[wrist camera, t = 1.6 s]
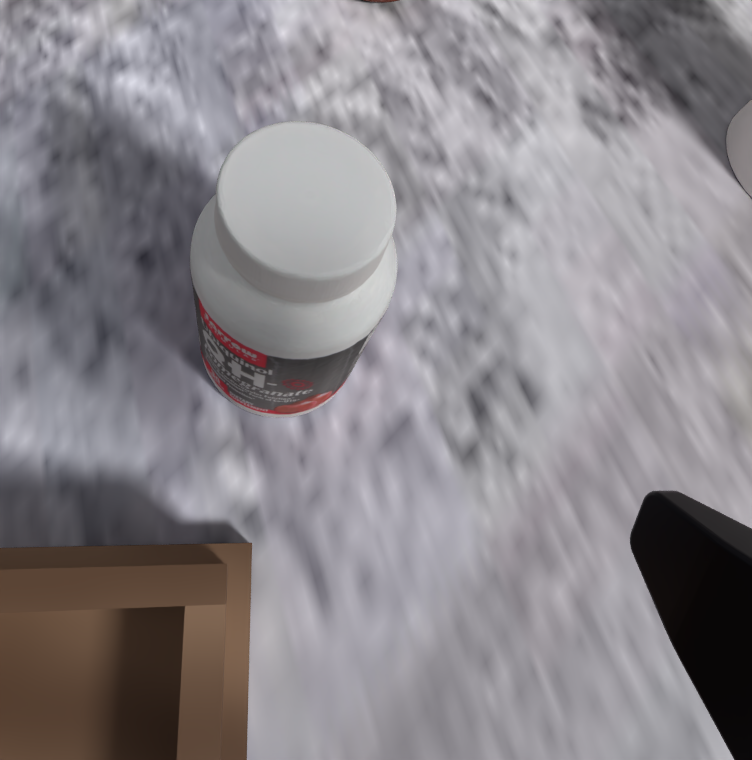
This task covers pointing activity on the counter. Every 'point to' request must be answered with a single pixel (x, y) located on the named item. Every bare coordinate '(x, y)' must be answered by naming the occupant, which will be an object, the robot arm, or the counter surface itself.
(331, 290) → the pill bottle
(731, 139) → the cylindrical container
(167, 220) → the counter surface
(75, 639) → the socket block
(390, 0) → the supplement bottle
